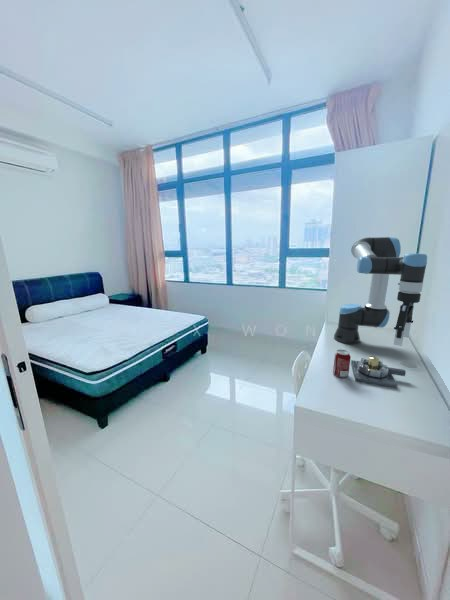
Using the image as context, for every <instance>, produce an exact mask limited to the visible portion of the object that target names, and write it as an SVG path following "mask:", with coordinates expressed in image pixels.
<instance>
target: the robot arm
mask: <svg viewBox="0 0 450 600" xmlns="http://www.w3.org/2000/svg"><path fill="white" fill-rule="evenodd" d="M350 250H351V255H352V257H354V258H355V259H357V264H356V270H357V272H358V274H365V275H369V274H371V282H370V287H369V295H368V302H367V303H365V304H364V307H363V306H362V305H361V304H359V303H358V304H357V303H347V304H343V305H341V306H340V308H339V312H338V313H339V316H338V323H337V324H338V326H337V329H336V330H335V333H334V335H333V339H334V340H335V341H337V342H340V343H342V344H348V345H356V344H357V345H358V344H359V343H360V340H361V336H360V331H359V327H360V326H361V327H369V328H370V327H371V328H384V327H385V328H386V326H387V325H388V322H389V321H390V314H391V313H390V312H391V311H390V310H389V309H388V307H387V305H386V304H385V303H386V296H387V293H388V292H387V291H388V285H389V279H390V275H394V276H396V275H398V276H400V278H399V282H398V283H397V285H398V286H399V287H398V290H399V291H398V293H397V297H396V300H397V301H399V302H402V304H401V305H400V307H399V313H398V316H397V320H396V324H395V327H394V328H393V330H395V333H394V339H393V345H396V346H399V347H402V346H403V342H404V338H409V334H410V330H411V324H413V323H414V320H413V314H414V313H413V311H414V304H416V303H417V304H418V303H419V302H420V300H421V292H423V285H424V279H425V275H426V274H425V273H426V267H427V264H428V255H427V254H426V253H405V254H404V256H401V257H400V255H401V242H400V240H399V239H398V238H397V237H389V236H388V237H386V236H385V237H381V236H380V237H379V236H378V237H364V238H361V239H358V240H357V241H355V242H354V243H353V245H352V246H351V249H350Z"/></svg>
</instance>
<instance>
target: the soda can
mask: <svg viewBox="0 0 450 600" xmlns="http://www.w3.org/2000/svg"><path fill="white" fill-rule="evenodd" d="M350 366H351V355H350V352H349V351H348V350H346V349H341V348H340V349H336V352H335V353H334V359H333V366H332V374H333V375H335V376H336V377H338V378H347V377H348V376H349V374H350V373H349V371H350Z"/></svg>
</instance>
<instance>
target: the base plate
mask: <svg viewBox="0 0 450 600" xmlns="http://www.w3.org/2000/svg"><path fill="white" fill-rule="evenodd" d="M368 360H369V362H368V366H369V369H373V370H380V369H378V362H379V360H380V358H379V357H377V356H374V355H369V356H368ZM359 361H360V360H352V359H350V366H351V369H352V373H353V378H354V380H355V381H354V382H356V383H363V384H367V385H373V386H379V387H386V388H388V389H389V388H390V389H397V387H398V383H397V382H396V380H395V378H394V375H393V374H388V375H387V376H384V377H374V376H369V375H366V374H364V373H363V372H361V371H360V370H359V369H358V362H359ZM384 365H385V366H387V367H388V365H386V364H384Z"/></svg>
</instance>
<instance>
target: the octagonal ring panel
mask: <svg viewBox="0 0 450 600" xmlns="http://www.w3.org/2000/svg"><path fill="white" fill-rule="evenodd" d="M358 361H359V362H358V369H359V370H360V371H361V372H363V373H364V374H366V375H369V376H374V377H384V376H387V375H388V374H392V376H401V377H406V373H407V371H406V370H405V369H403V368H395V367H390V366H388V365H387V366H385V365H386V364H384V362H383V361H382V360H380V359H379V362H378V369H380V370H373V369H369V366H368V362H369V359H366V358H361V359H360V360H358Z"/></svg>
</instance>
